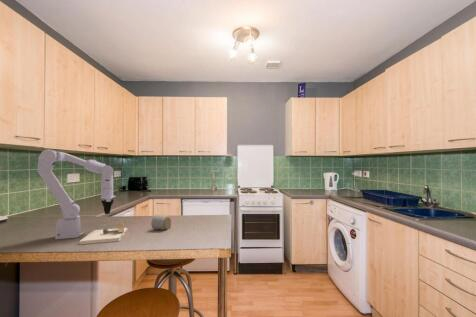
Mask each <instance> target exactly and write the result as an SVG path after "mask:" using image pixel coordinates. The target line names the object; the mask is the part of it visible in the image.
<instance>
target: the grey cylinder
mask: <svg viewBox="0 0 476 317" xmlns="http://www.w3.org/2000/svg"><path fill="white" fill-rule="evenodd" d="M150 225H151V228H152V229H153V230H159V229H160V231H161V230H162V231H166V230H168V229H170V227H171V226H172V219H171V217H170V216H168V215H161V214H154V215H153V216H152V219H151V224H150Z"/></svg>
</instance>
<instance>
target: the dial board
mask: <svg viewBox="0 0 476 317" xmlns="http://www.w3.org/2000/svg"><path fill="white" fill-rule="evenodd" d="M107 229H108V231H114V230H118V228H107ZM103 230H104V229H94V230H93V231H91V232H89V233H87V235H86V236H84V237H82V239H81V240H79V245H89V244H101V243H111V242H120V240H121V239H122V238H123V237H124V235H126V233H127V232H128V227H124V231H123V232H116V233H106V234H103ZM126 231H127V232H126ZM125 232H126V233H125ZM122 236H123V237H122ZM121 237H122V238H121Z"/></svg>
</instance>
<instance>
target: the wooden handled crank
mask: <svg viewBox="0 0 476 317" xmlns="http://www.w3.org/2000/svg"><path fill="white" fill-rule="evenodd" d="M117 226H118V227H117V229H118V230H114V231H108V229H109V228H105V229H102V230H103V234H106V233H116V232H123V231H124V228H125V220H120V221H118V222H117Z"/></svg>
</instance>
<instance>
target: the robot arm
mask: <svg viewBox="0 0 476 317" xmlns="http://www.w3.org/2000/svg"><path fill="white" fill-rule="evenodd" d="M37 160H38V164H37V173H38V175H39V176H40V178H41V179H42V181H43V183H45V185H46V186H47V188H48V190H49V191H50V193H52V194H51V195H53V197H54V199H56V201H57V202H58V204H59V207H60V209H61V212H62V214H61V215H62V216H63V217H62V218H60V219H58V220H57V221H56V224H55V237H54V240H65V239H77V238H79V237H80V236H82V235H83V234H84V232H81V216H80V214H79V213H80V212H81V207H80V205H78V204H77V203H75V202H74V200H73V199H72V198H70V195H69V194H68V193H67V191H66V190H65V189H64V186H63V185H62V184H61V182H60V181H59V180H58V178H57V177H56V174H55V173H54V172H53V169H54V167H55V165H56V164H57V163H58V162H66V161H67V162H69V163H73V164H76V165H79V166H82V167H84V169H85V170H86V171H89V172H92V173H95V174H97V175H98V174H101V179H100V199H101V200H100V202H101V205H102V207H103V211H104V214H105V215H110V213H111V209H112V205H113V204H114V199H113V198H116V197H117V196H116V195H114V175H113V174H114V172H115V171H114V168H113V167H112V166H111V165H109V164H106V163H105V162H104V163H102V162H99V161H97V160H96V159H88V160H86V159H83V158H80V157H78V156H75V155H72V154H69V153H67V152H62V151H57V150H53V149H49V148H48V149H45V150H42V151H41V153H40V154H39V156H38V158H37Z"/></svg>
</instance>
